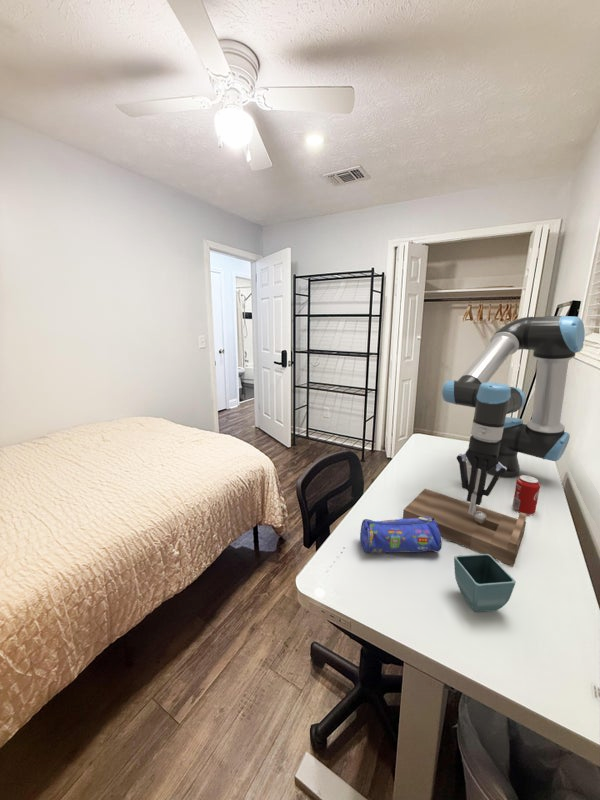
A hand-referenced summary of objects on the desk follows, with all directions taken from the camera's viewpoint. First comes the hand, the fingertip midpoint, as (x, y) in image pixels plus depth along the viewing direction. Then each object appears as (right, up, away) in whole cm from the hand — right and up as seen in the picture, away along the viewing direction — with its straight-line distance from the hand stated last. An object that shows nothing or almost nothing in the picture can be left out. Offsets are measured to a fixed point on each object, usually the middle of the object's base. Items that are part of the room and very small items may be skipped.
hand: (471, 512), depth 95 cm
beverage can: (+24, -4, +12) cm, 27 cm away
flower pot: (-11, -12, -23) cm, 28 cm away
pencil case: (-24, -8, -6) cm, 26 cm away
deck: (-1, -6, +4) cm, 7 cm away
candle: (+15, -1, +27) cm, 31 cm away
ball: (+2, -1, -1) cm, 2 cm away
